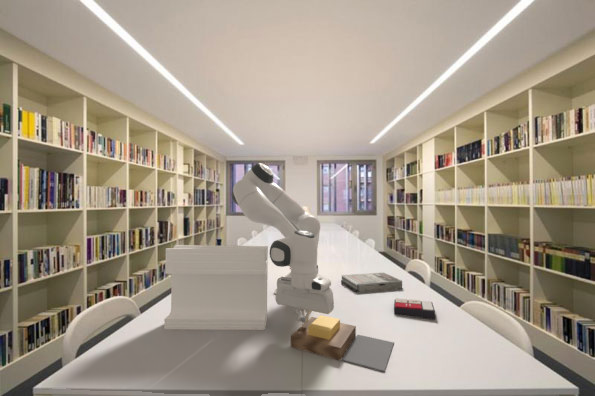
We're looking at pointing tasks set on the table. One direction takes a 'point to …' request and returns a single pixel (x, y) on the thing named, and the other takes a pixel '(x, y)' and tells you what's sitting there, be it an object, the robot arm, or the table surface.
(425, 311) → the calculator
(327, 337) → the yellow rectangular block
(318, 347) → the panel
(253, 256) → the block
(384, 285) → the hard drive
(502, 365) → the table surface
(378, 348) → the mat
